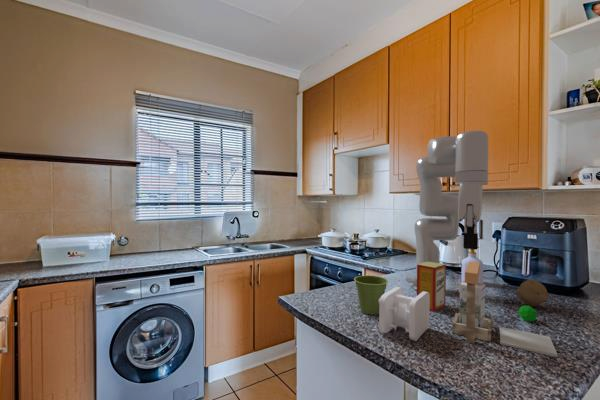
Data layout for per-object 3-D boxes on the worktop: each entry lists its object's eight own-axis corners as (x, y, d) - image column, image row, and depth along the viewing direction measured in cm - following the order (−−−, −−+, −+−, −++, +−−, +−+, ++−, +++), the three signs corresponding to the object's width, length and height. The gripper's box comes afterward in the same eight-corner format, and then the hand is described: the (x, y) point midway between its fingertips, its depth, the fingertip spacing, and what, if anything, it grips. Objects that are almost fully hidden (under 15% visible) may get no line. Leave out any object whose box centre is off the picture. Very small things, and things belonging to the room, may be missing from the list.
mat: (500, 344, 81) (500, 341, 81) (499, 328, 91) (499, 326, 91) (557, 357, 75) (557, 354, 75) (549, 338, 85) (549, 336, 85)
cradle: (450, 338, 84) (451, 282, 85) (457, 317, 100) (457, 270, 100) (490, 347, 79) (491, 288, 79) (491, 324, 94) (491, 274, 94)
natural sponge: (554, 312, 106) (554, 284, 106) (526, 309, 108) (526, 282, 108) (539, 303, 115) (539, 277, 115) (513, 301, 117) (513, 276, 117)
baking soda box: (428, 301, 116) (428, 260, 116) (445, 305, 111) (445, 263, 111) (416, 306, 110) (417, 263, 110) (434, 311, 105) (434, 266, 105)
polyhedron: (526, 317, 101) (526, 303, 101) (541, 323, 96) (541, 308, 96) (514, 318, 100) (514, 304, 100) (528, 324, 95) (528, 309, 95)
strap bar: (464, 282, 83) (464, 272, 83) (468, 270, 98) (469, 261, 98) (477, 284, 81) (477, 273, 81) (479, 271, 96) (479, 262, 96)
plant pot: (358, 303, 113) (358, 273, 113) (390, 308, 107) (390, 277, 107) (349, 313, 102) (349, 281, 102) (384, 320, 97) (385, 286, 97)
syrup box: (485, 331, 90) (485, 283, 90) (480, 337, 85) (481, 287, 85) (464, 325, 94) (464, 279, 94) (458, 331, 89) (459, 283, 89)
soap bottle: (487, 285, 139) (487, 233, 139) (467, 285, 139) (468, 233, 139) (476, 280, 147) (476, 231, 148) (457, 280, 148) (458, 231, 148)
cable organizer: (414, 346, 79) (414, 303, 79) (377, 335, 86) (377, 295, 86) (430, 328, 91) (430, 290, 91) (396, 319, 98) (396, 284, 98)
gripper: (457, 181, 86) (457, 244, 86) (452, 177, 74) (451, 250, 74) (488, 180, 82) (487, 246, 82) (487, 176, 70) (487, 254, 70)
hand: (470, 248), depth 78 cm, fingers closed
